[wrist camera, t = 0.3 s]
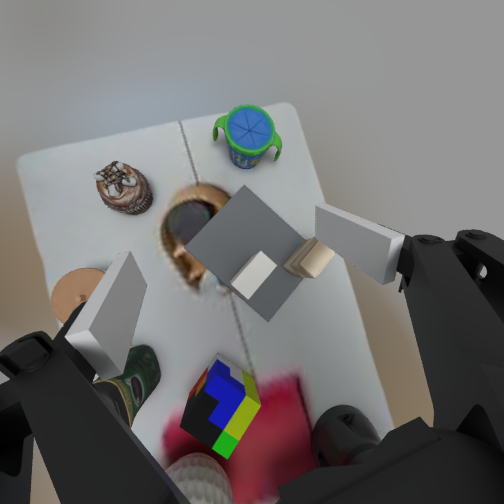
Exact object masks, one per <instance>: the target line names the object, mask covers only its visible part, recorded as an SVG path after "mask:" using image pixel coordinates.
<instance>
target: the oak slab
mask: <svg viewBox="0 0 504 504" xmlns="http://www.w3.org/2000/svg"><path fill="white" fill-rule="evenodd" d="M335 253H336V252H334V251H333V250H331V249H330V248H328V247H327V246H325V245H324V244H323V243H321V242H320V241H318V240H317V239H315V237H313V238H311V239H308V240H306V241H303V242H302V243H301V244H300V245H299V246H298V247H297V249H296V250H295V251H294V252H293V253H292V255H291V256H290V257H289V258H288V259H287V261H286V262H285V263H284V264H283V265H282V267H283V268H284V269H285V270H286V271H287V272H289V273H290V274H291V275H292V276H293V277H299V278H316V277H317V276H318V275H319V273H320V272H321V271H322V270H323V268H324V267H325V266H326V265H327V263H328V262H329V261H330V259H331V258H332V257H333V256H334V254H335Z"/></svg>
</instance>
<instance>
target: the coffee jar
mask: <svg viewBox="0 0 504 504" xmlns="http://www.w3.org/2000/svg"><path fill="white" fill-rule="evenodd" d="M159 381H160V371H159V366H158V363H157V360H156V357H155V355H154V353H153V351H152V350H151V349H150V348H149V347H147V346H138V347H134V348H131V349H130V350H129V353H128V357H127V360H126V364H125V368H124V371H123V374H122V375H119V376H116V377H113V378H111V379H108V380H105V381H103V380H102V379H101V378H100V377H98V378H97V379H96V380H95V381H93V382H92V383H93V384H94V385H95V386H96V387H97V389H98V390H99V391H100V392H101V394H102V395H103V396H104V397H105V398H106V400H107V401H108V402H109V403H110V405H111V406H112V407H113V408H114V410H115V411H116V412H117V413H118V414H119V416H120V417H121V418H122V419H123V421H124V422H125V423H126V424H127V425H128V427H129V428H130V429H131V427H132V424H133V421H134V418H135V416H136V414H137V412H138V411H139V409H140V408H141V406H142V405H143V404H144V402H145V401H146V400H147V398H148V397H149V396H150V395H151V393H152V392H153V391H154V389H155V388H156V386H157V385H158V383H159Z"/></svg>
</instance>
